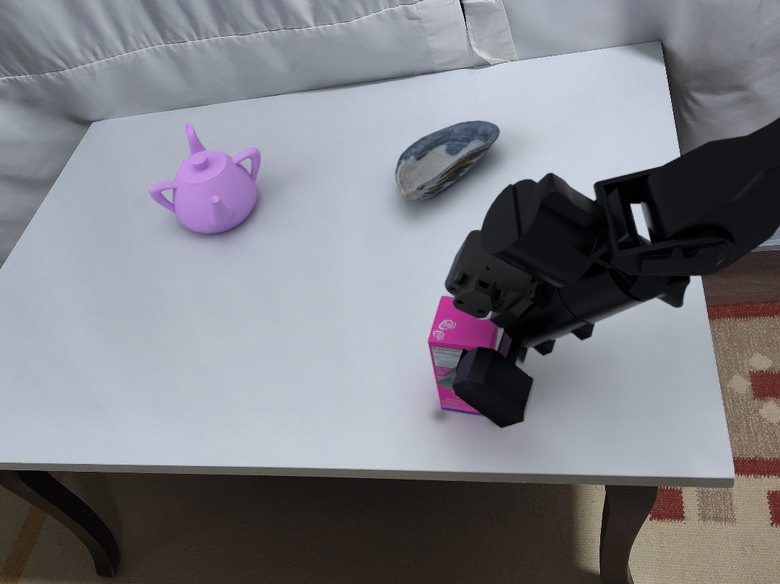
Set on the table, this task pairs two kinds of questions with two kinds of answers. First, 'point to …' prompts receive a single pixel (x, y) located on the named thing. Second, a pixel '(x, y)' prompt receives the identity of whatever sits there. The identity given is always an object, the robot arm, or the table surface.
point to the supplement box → (457, 345)
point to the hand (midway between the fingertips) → (453, 349)
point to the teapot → (211, 188)
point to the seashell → (442, 158)
